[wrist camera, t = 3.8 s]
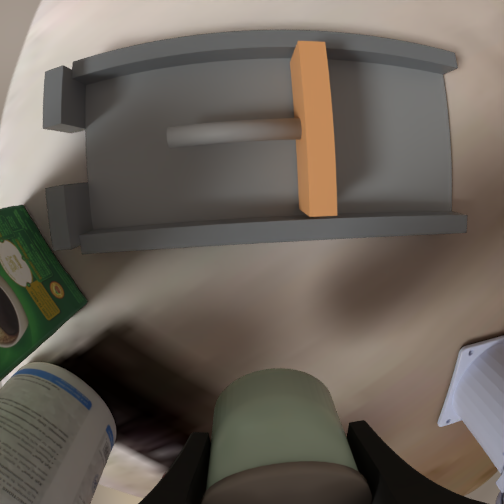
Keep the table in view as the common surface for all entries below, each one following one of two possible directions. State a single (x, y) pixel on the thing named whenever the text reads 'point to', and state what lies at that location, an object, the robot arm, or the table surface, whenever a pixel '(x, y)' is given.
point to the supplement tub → (52, 437)
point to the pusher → (289, 130)
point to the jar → (280, 444)
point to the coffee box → (30, 289)
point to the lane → (249, 143)
